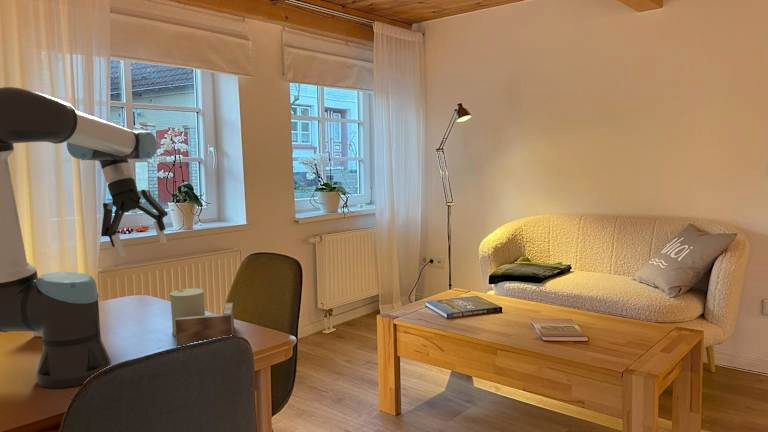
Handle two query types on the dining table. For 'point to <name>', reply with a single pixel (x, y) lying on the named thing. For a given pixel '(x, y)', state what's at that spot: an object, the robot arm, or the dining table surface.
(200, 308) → the can
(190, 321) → the v stop
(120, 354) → the dining table surface
